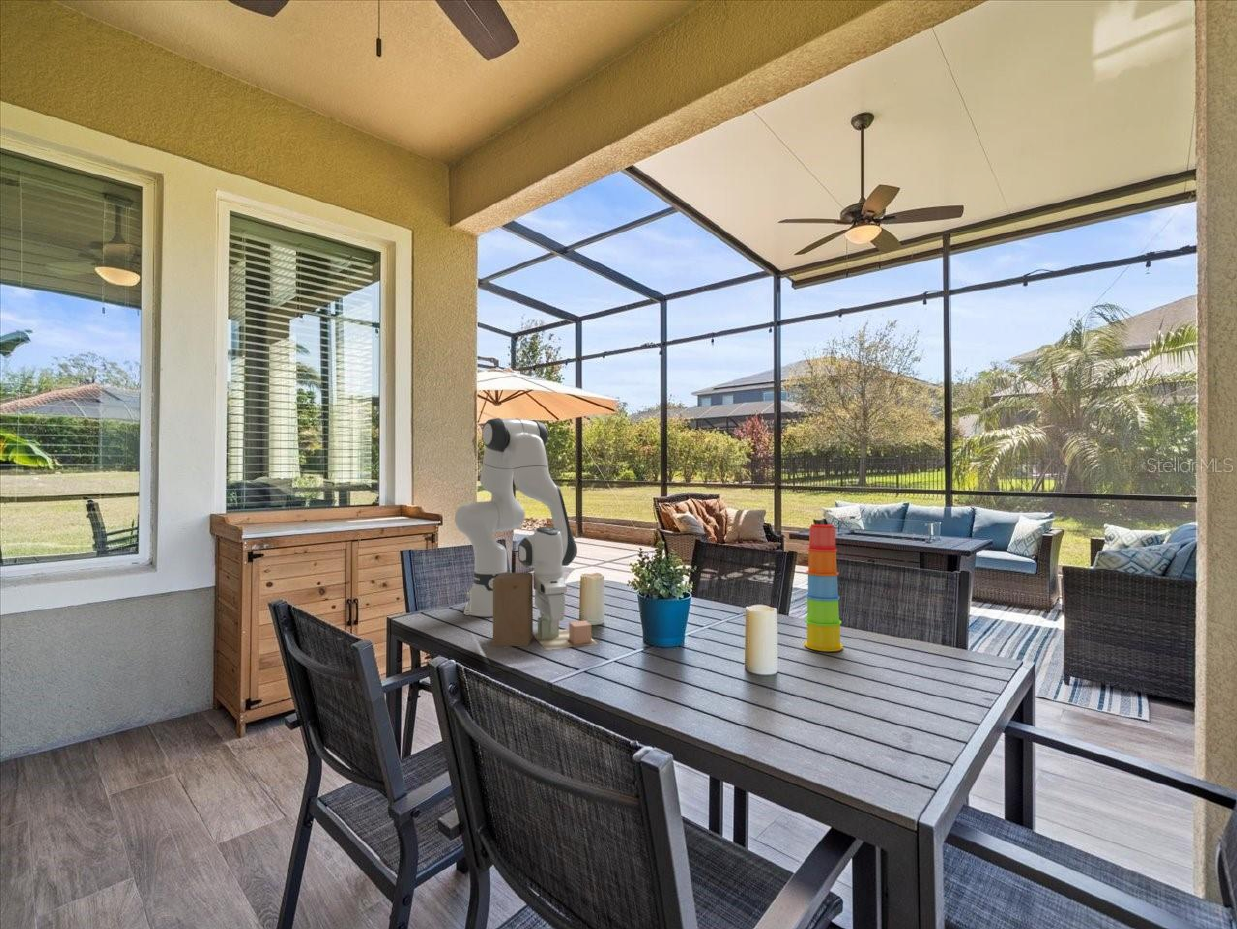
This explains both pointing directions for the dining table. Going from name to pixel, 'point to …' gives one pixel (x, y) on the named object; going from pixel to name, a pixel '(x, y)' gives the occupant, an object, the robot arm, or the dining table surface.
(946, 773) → the dining table surface
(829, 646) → the stacking cups
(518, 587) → the wooden block
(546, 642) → the birch base board
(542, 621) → the sage block
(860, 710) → the dining table surface
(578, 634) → the terracotta block
